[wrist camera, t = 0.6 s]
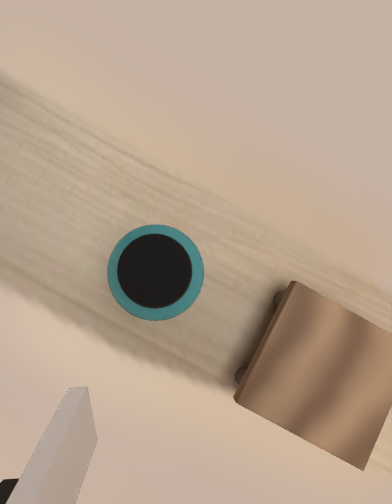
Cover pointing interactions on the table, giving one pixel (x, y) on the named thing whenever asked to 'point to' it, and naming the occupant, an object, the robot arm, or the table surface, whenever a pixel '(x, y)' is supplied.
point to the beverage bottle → (155, 272)
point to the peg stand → (321, 375)
